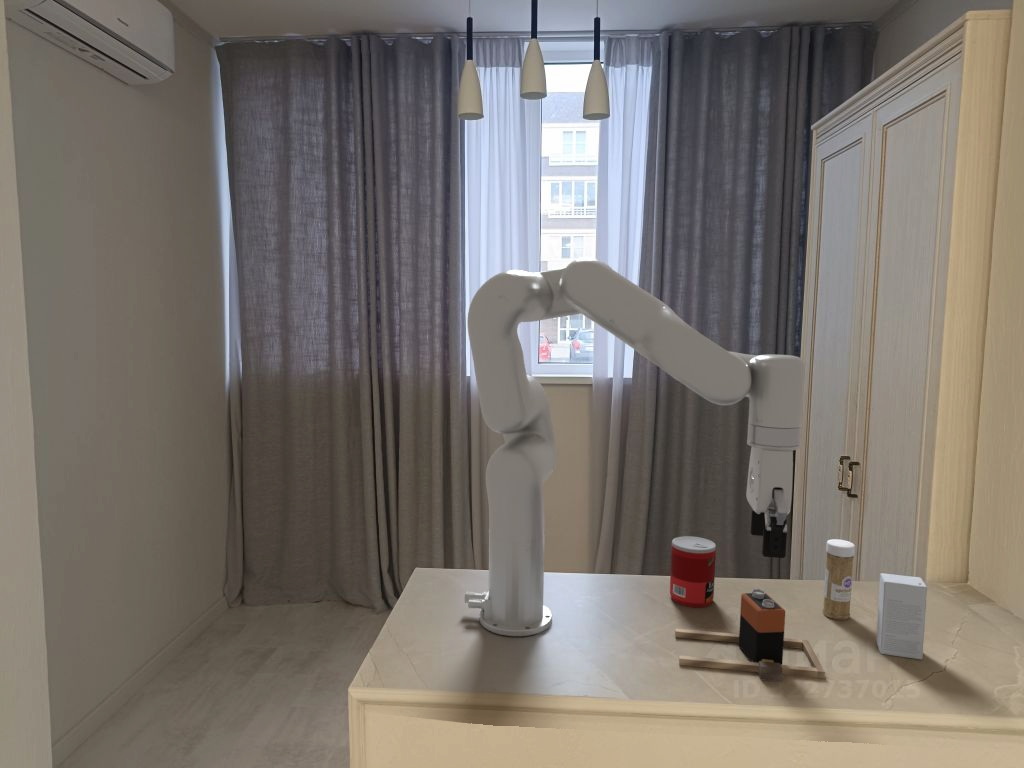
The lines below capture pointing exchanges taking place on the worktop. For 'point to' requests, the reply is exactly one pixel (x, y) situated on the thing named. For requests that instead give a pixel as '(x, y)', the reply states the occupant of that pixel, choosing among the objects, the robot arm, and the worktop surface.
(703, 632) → the track
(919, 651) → the skincare box
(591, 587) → the worktop surface
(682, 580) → the canned food
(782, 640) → the battery
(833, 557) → the sprinkles bottle
